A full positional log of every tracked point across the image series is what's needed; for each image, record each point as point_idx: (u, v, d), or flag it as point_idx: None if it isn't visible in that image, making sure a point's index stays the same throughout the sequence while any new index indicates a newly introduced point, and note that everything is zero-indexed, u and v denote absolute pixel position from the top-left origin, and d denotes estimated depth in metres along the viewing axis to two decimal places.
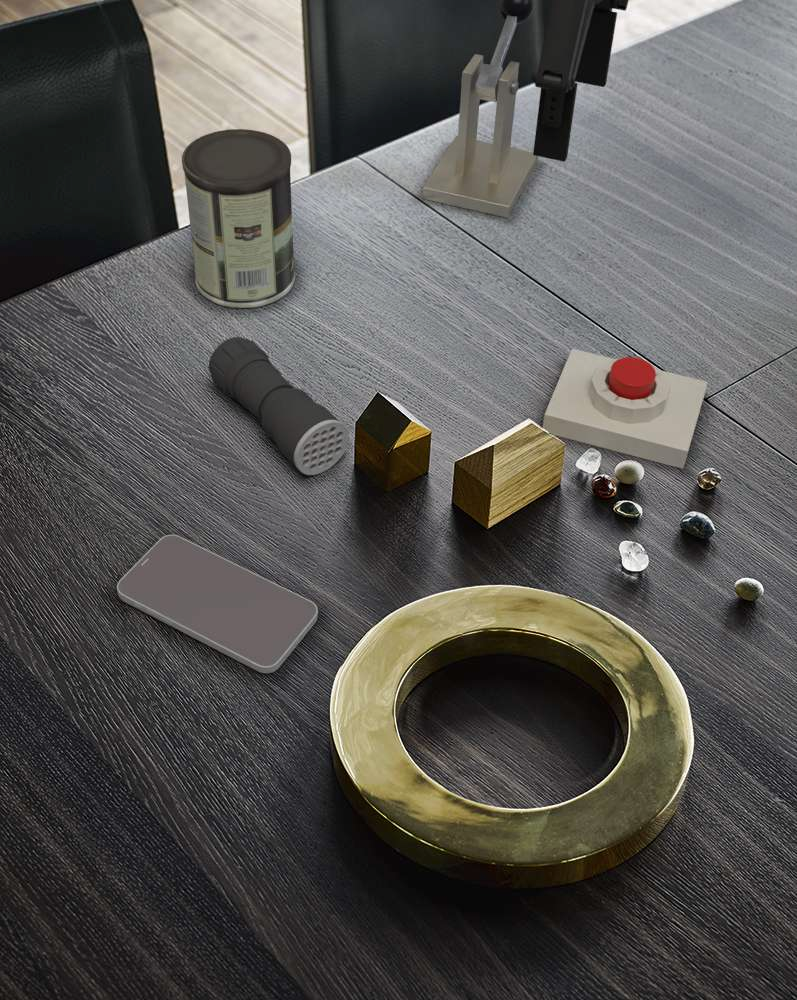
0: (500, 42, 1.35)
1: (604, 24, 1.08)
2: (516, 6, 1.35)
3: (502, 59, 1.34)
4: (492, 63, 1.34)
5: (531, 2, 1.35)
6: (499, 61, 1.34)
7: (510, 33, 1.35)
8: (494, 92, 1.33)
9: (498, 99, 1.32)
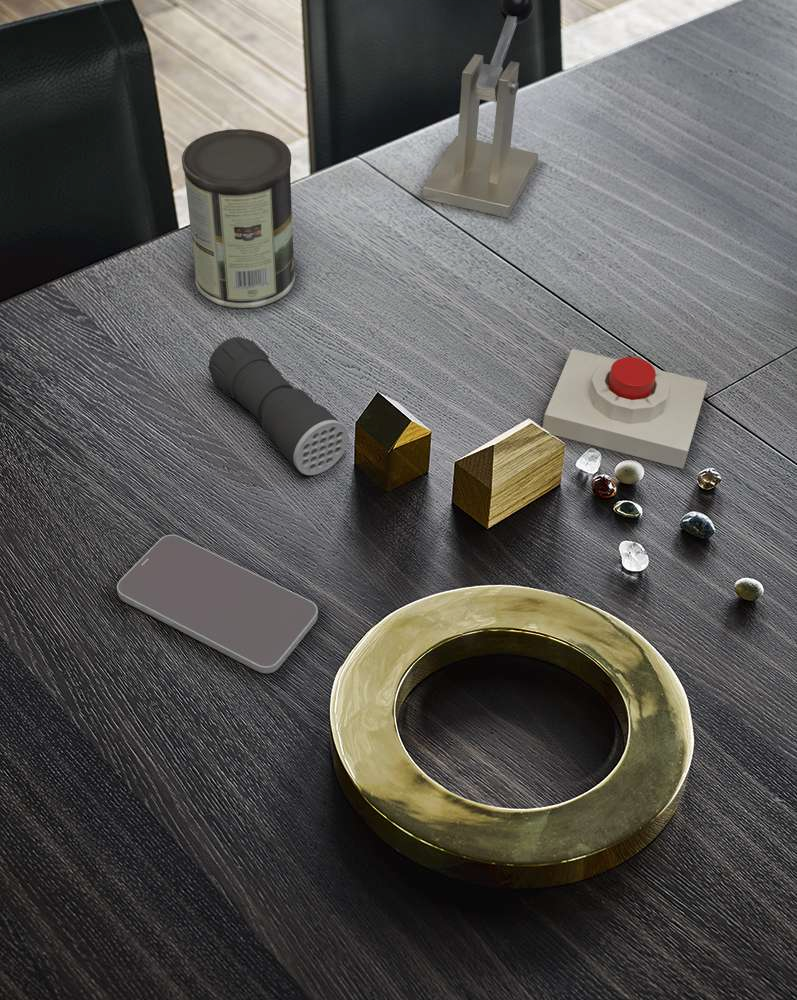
0: (500, 42, 1.35)
1: None
2: (516, 6, 1.35)
3: (502, 59, 1.34)
4: (492, 63, 1.34)
5: (531, 2, 1.35)
6: (499, 61, 1.34)
7: (510, 33, 1.35)
8: (494, 92, 1.33)
9: (498, 99, 1.32)
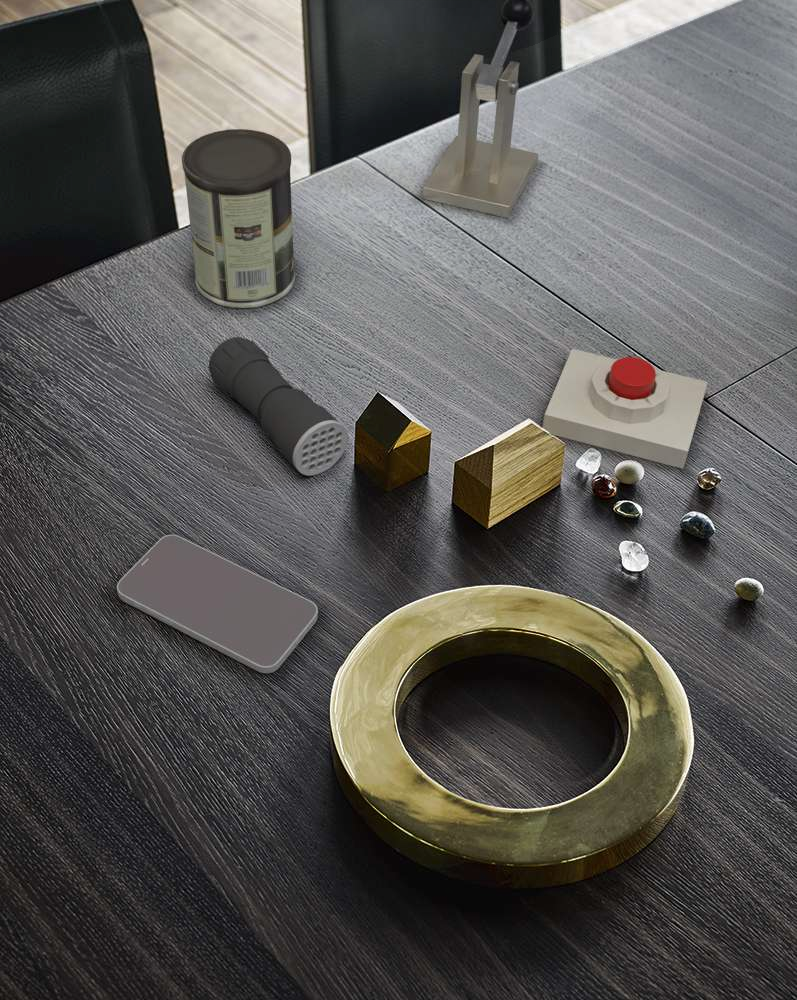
0: (500, 45, 1.35)
1: None
2: (517, 11, 1.36)
3: (502, 61, 1.35)
4: (492, 64, 1.34)
5: (531, 9, 1.37)
6: (499, 62, 1.34)
7: (510, 37, 1.36)
8: (494, 91, 1.33)
9: (498, 99, 1.32)
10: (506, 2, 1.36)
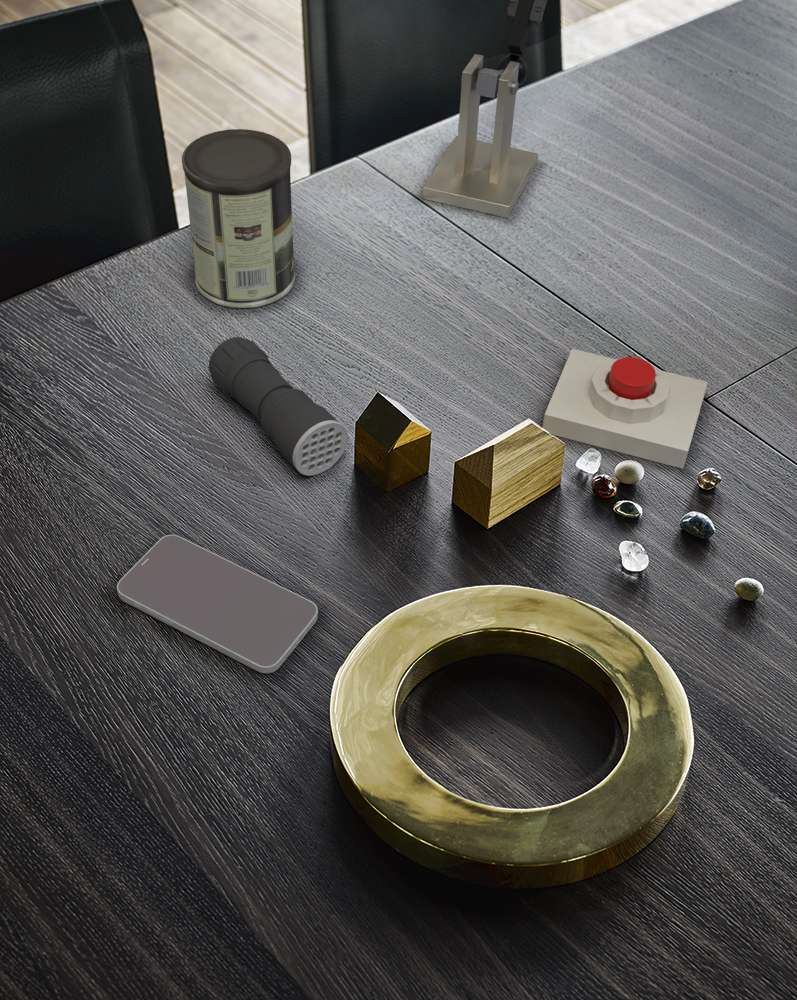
0: None
1: None
2: (514, 60, 1.41)
3: None
4: None
5: (526, 67, 1.42)
6: None
7: None
8: (496, 81, 1.32)
9: (498, 99, 1.32)
10: (503, 57, 1.42)
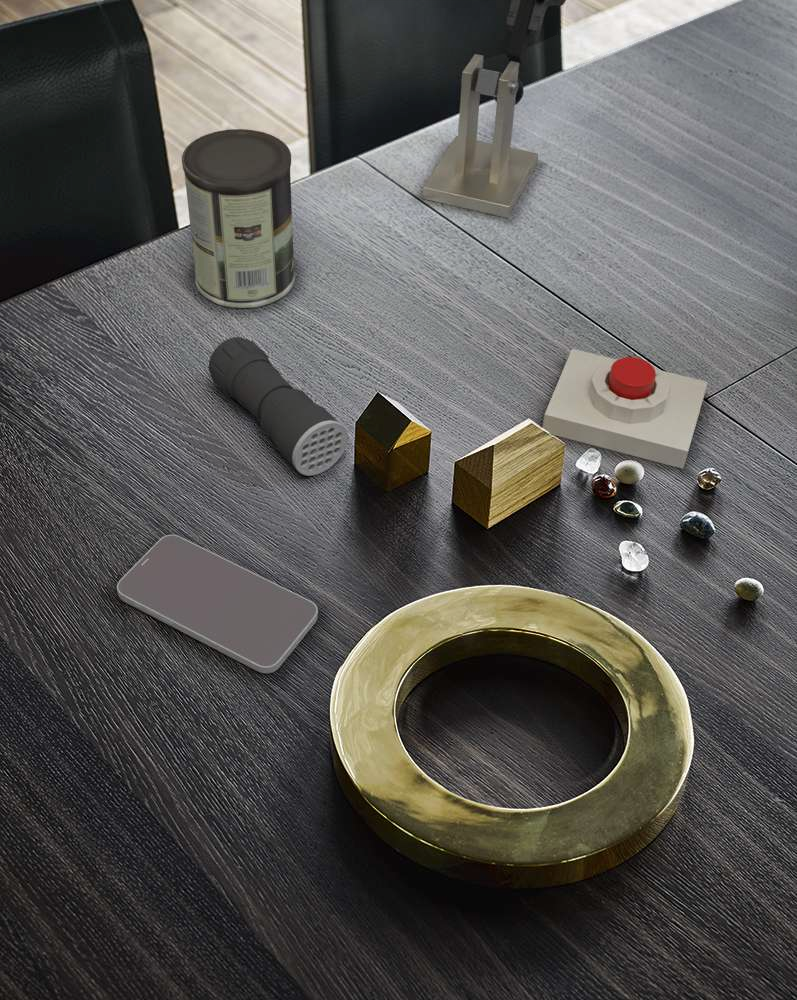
0: None
1: None
2: None
3: None
4: None
5: None
6: None
7: None
8: (497, 78, 1.32)
9: (498, 99, 1.32)
10: None
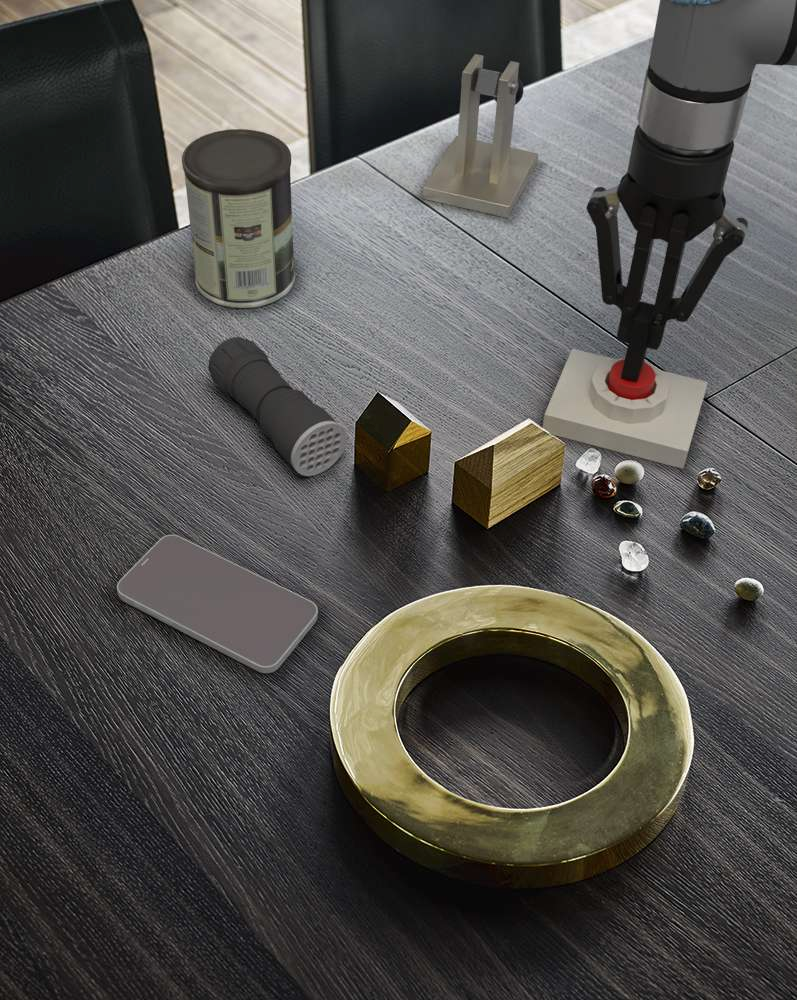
0: None
1: None
2: None
3: None
4: None
5: None
6: None
7: None
8: (497, 78, 1.32)
9: (498, 99, 1.32)
10: None
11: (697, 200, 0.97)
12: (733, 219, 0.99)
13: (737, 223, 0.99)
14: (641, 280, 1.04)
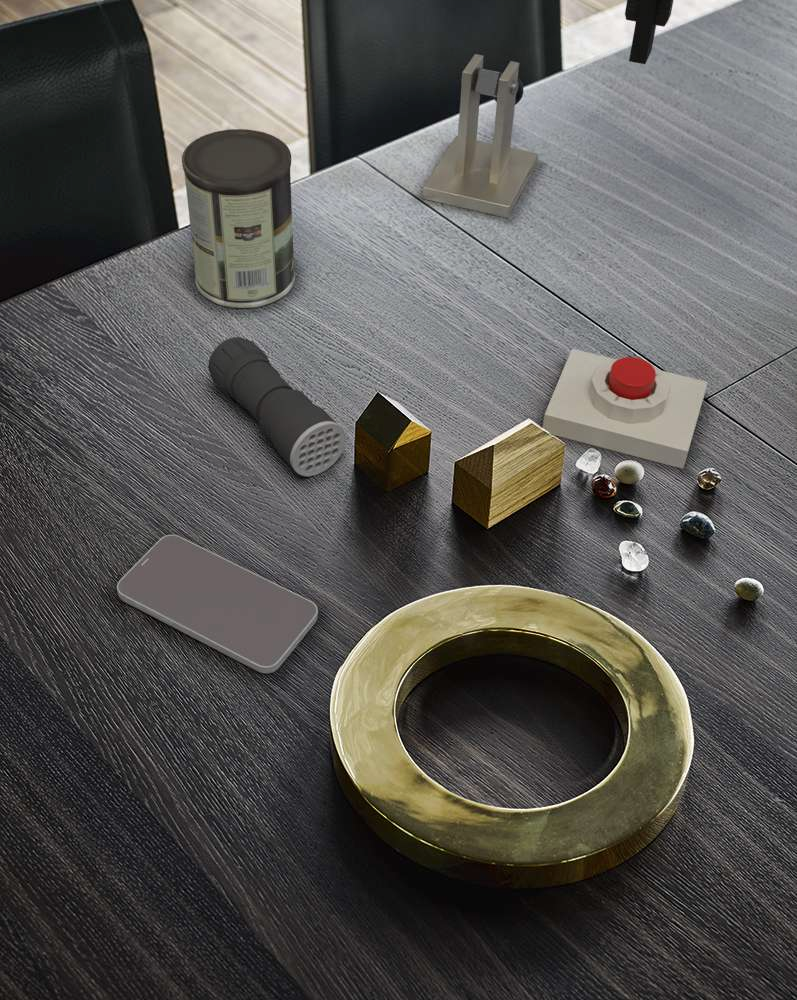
0: None
1: None
2: None
3: None
4: None
5: None
6: None
7: None
8: (497, 78, 1.32)
9: (498, 99, 1.32)
10: None
11: None
12: None
13: None
14: None
